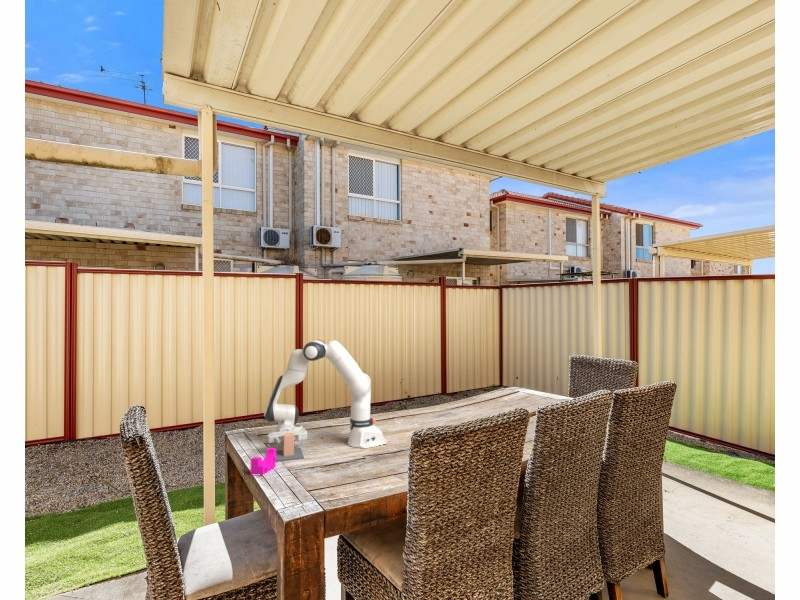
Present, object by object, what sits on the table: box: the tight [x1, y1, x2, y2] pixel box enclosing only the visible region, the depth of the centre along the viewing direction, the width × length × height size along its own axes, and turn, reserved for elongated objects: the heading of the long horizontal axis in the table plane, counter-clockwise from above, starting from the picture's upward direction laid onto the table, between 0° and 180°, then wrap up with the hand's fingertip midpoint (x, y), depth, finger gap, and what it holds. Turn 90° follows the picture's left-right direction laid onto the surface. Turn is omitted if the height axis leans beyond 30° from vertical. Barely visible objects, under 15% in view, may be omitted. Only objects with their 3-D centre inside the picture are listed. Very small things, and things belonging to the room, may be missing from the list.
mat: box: [276, 447, 305, 462], centre depth 204 cm, size 14×14×1 cm
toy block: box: [250, 447, 277, 476], centre depth 186 cm, size 15×6×8 cm, turn 167°
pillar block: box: [282, 433, 295, 456], centre depth 204 cm, size 5×5×10 cm
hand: (288, 440), depth 203 cm, fingers open, 8 cm apart
